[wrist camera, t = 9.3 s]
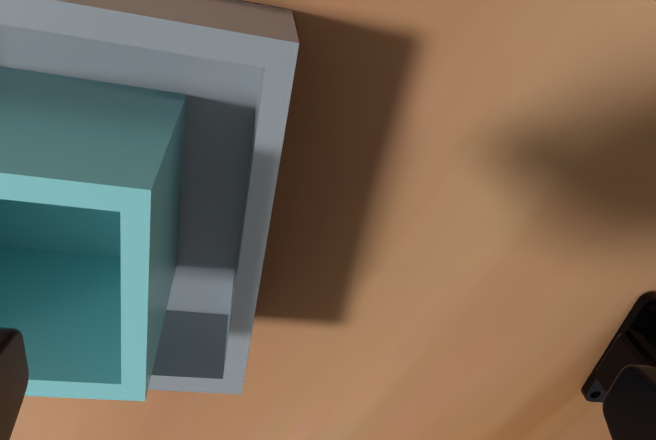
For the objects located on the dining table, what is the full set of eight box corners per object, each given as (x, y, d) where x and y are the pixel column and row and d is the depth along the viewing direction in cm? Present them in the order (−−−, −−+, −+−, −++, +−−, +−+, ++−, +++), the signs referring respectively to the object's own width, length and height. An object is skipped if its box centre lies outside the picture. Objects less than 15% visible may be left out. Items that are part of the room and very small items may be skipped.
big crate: (291, 9, 16) (299, 43, 12) (244, 315, 22) (241, 394, 18) (-177, -79, 14) (-324, -67, 10) (-85, 290, 20) (-158, 374, 16)
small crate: (186, 94, 16) (150, 190, 11) (176, 265, 19) (145, 401, 14) (-51, 58, 15) (-215, 148, 10) (-19, 247, 18) (-130, 388, 13)
